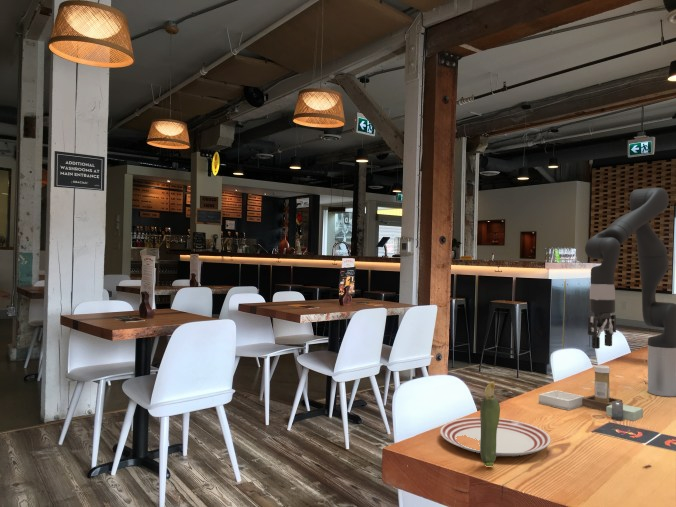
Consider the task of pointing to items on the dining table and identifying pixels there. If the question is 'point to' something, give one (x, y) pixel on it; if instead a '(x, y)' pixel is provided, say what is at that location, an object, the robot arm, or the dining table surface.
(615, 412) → the cylinder
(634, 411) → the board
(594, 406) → the socket block
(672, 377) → the robot arm
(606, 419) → the dining table surface
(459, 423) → the dinner plate
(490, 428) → the vegetable
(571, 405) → the tray
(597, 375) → the sprinkles bottle
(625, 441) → the dining table surface
